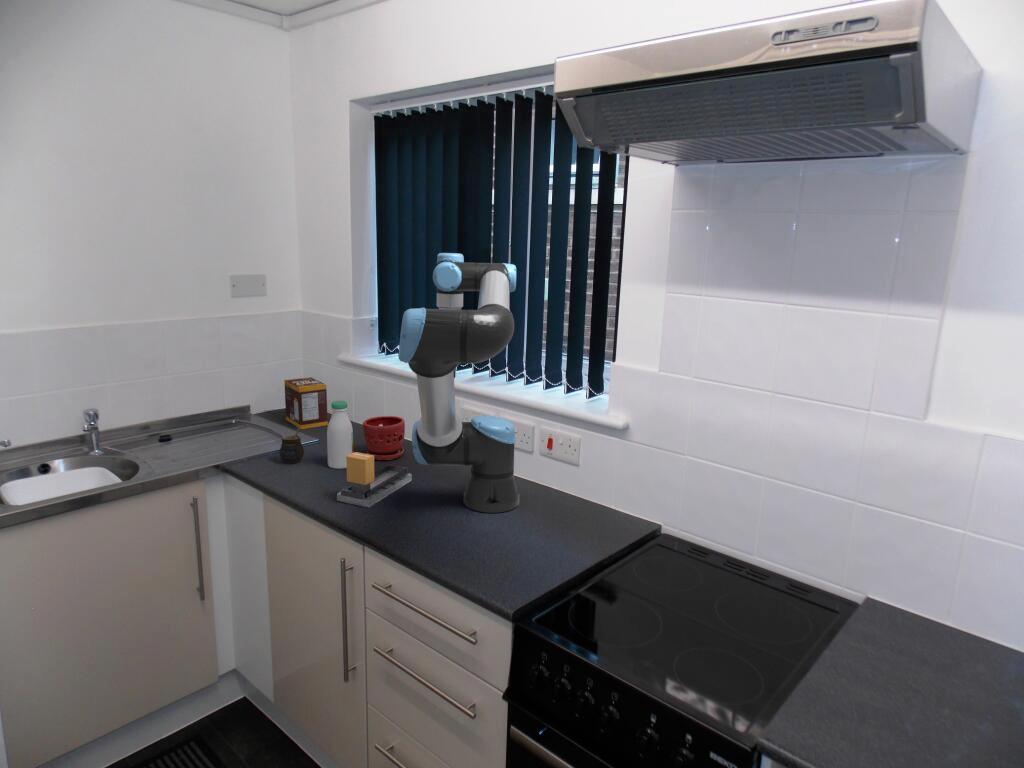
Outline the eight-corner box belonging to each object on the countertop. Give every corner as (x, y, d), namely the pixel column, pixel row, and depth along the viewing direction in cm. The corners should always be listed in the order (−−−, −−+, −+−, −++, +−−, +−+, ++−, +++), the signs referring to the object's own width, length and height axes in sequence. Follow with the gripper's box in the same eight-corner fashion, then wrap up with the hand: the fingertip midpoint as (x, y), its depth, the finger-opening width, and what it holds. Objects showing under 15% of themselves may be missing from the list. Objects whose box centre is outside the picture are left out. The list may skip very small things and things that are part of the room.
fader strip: (382, 474, 199) (382, 463, 198) (413, 480, 195) (413, 468, 194) (335, 501, 178) (335, 488, 178) (368, 508, 175) (368, 495, 174)
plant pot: (399, 448, 224) (399, 413, 221) (409, 460, 212) (409, 424, 209) (360, 451, 219) (359, 416, 216) (367, 464, 207) (367, 427, 204)
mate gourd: (275, 464, 204) (273, 432, 202) (287, 456, 212) (286, 426, 210) (296, 466, 203) (295, 434, 201) (308, 458, 211) (307, 428, 208)
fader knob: (356, 486, 183) (355, 451, 180) (374, 490, 180) (374, 454, 178) (347, 491, 179) (346, 455, 177) (366, 495, 177) (365, 459, 175)
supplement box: (311, 415, 258) (310, 376, 255) (328, 425, 247) (326, 384, 243) (285, 419, 252) (283, 379, 249) (300, 429, 240) (299, 387, 237)
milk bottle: (350, 469, 202) (348, 406, 197) (324, 468, 202) (322, 405, 198) (356, 461, 209) (355, 399, 205) (332, 460, 209) (330, 398, 205)
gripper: (475, 309, 189) (473, 390, 194) (444, 305, 197) (443, 383, 202) (455, 311, 183) (454, 394, 188) (424, 306, 192) (424, 386, 197)
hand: (449, 388), depth 195 cm, fingers closed
